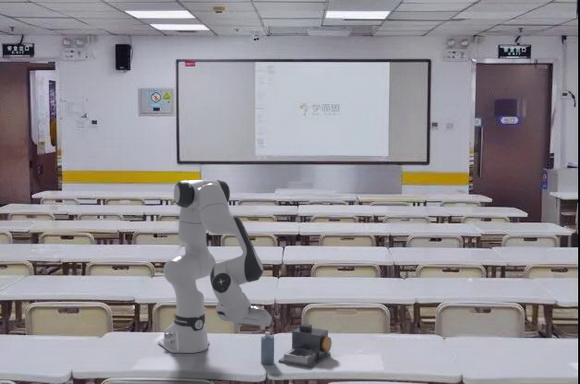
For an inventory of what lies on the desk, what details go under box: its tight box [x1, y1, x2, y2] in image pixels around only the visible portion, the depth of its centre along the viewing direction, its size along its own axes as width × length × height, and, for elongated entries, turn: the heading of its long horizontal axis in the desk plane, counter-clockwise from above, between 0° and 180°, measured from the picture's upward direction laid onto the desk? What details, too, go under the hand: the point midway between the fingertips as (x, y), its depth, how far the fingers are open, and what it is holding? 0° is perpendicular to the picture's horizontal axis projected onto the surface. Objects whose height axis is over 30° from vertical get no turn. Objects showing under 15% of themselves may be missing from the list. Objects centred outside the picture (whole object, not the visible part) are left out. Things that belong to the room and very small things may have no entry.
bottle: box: [260, 331, 275, 366], centre depth 287 cm, size 5×5×12 cm
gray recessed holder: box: [278, 323, 332, 368], centre depth 293 cm, size 15×18×12 cm
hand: (252, 326), depth 274 cm, fingers open, 8 cm apart
